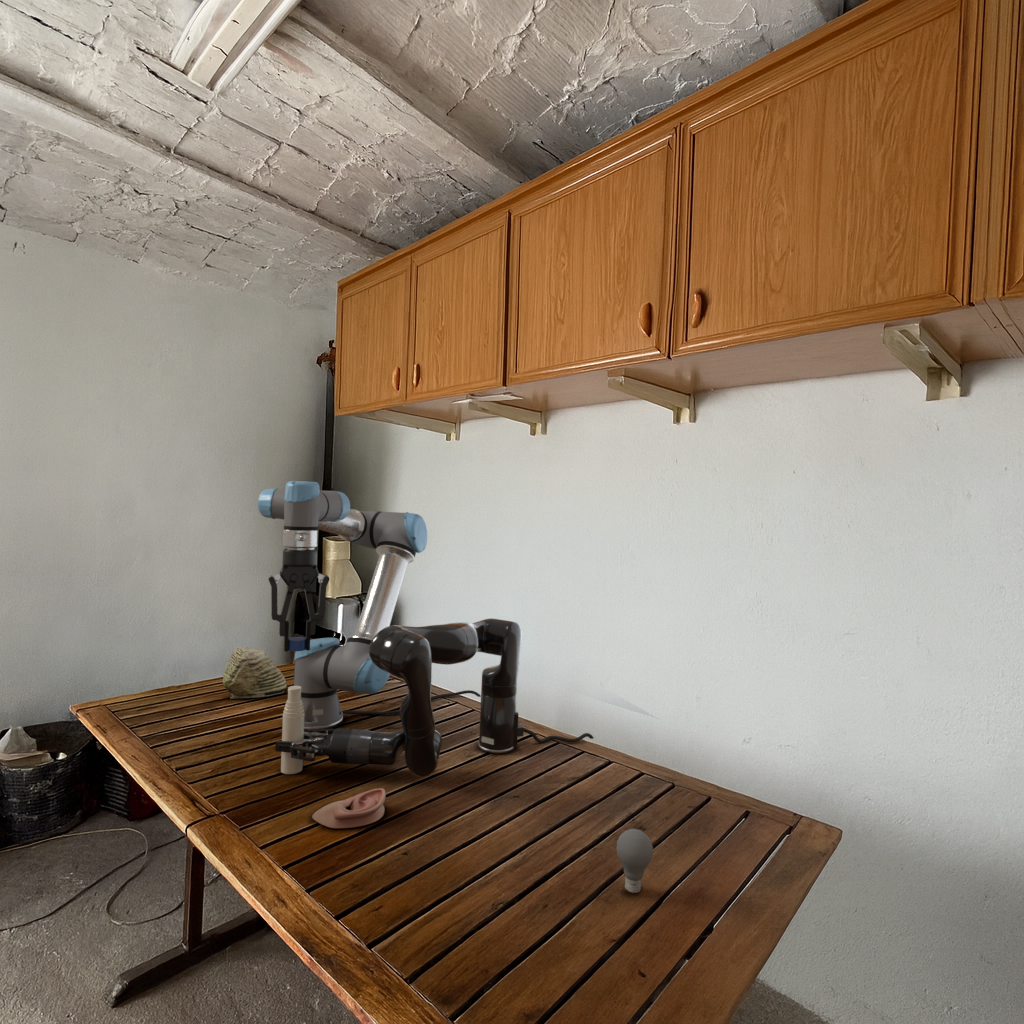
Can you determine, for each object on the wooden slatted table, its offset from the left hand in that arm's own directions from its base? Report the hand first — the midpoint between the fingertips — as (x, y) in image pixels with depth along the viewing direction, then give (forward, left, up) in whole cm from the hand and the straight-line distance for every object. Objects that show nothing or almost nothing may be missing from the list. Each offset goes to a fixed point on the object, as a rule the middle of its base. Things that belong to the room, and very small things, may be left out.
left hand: (296, 649), depth 146 cm
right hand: (+2, -2, -22) cm, 22 cm away
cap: (0, 0, +2) cm, 2 cm away
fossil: (-22, -56, -28) cm, 66 cm away
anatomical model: (+4, +27, -28) cm, 39 cm away
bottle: (0, 0, -28) cm, 28 cm away
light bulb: (-13, +81, -28) cm, 86 cm away
